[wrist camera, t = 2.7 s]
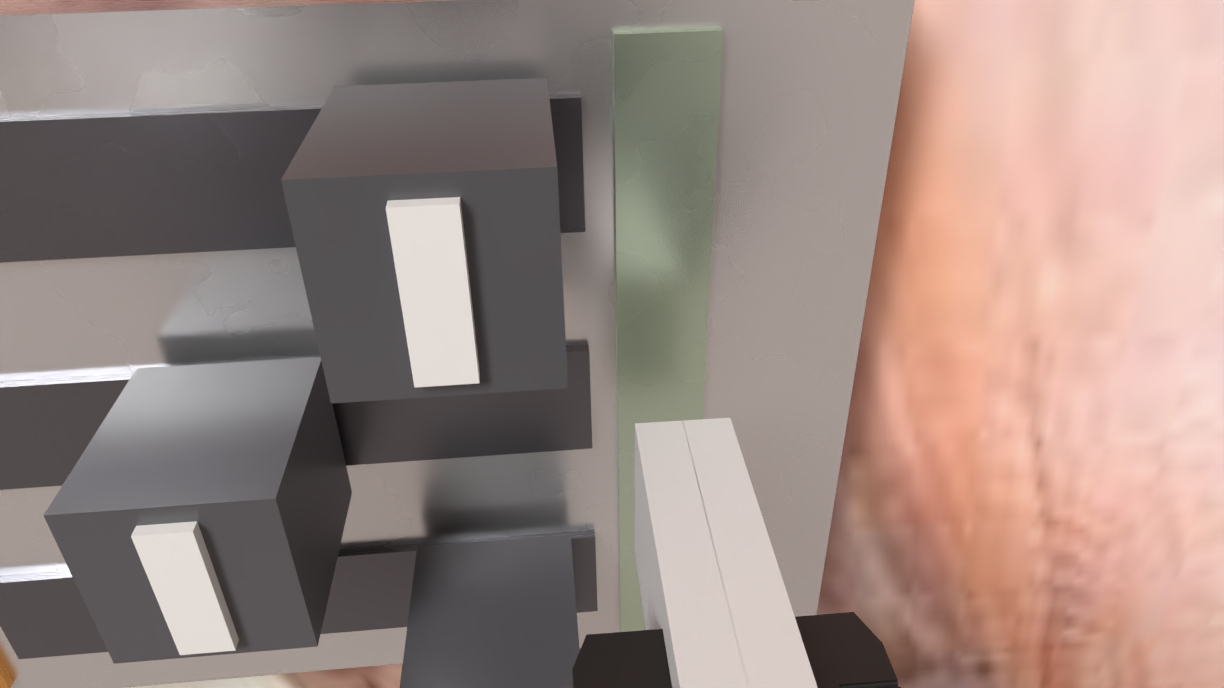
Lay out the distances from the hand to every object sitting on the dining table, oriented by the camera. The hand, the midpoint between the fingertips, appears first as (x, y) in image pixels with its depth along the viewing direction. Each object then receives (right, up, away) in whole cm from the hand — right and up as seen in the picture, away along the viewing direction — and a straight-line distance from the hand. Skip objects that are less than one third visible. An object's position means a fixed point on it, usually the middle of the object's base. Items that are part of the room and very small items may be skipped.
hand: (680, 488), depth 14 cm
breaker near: (-4, +5, -1) cm, 6 cm away
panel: (-8, +2, +3) cm, 9 cm away
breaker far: (-3, -3, +4) cm, 6 cm away
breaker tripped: (-7, +1, +1) cm, 8 cm away
